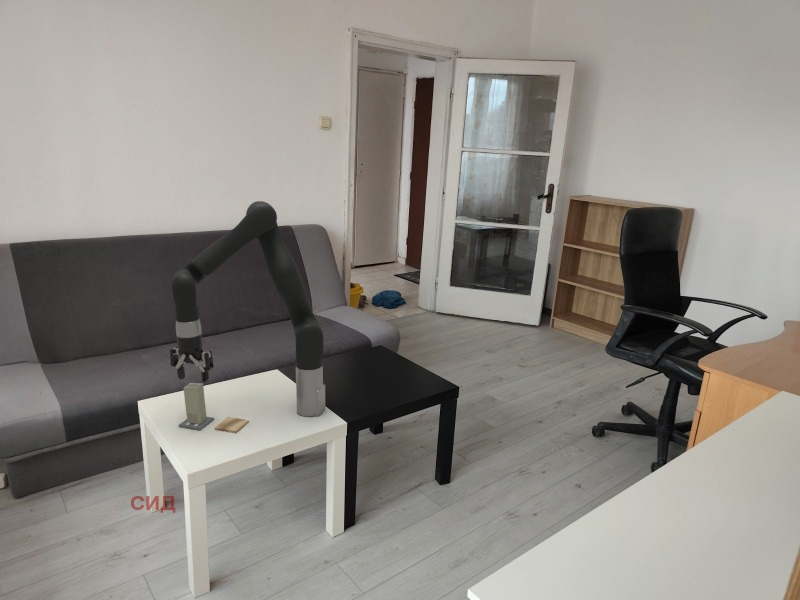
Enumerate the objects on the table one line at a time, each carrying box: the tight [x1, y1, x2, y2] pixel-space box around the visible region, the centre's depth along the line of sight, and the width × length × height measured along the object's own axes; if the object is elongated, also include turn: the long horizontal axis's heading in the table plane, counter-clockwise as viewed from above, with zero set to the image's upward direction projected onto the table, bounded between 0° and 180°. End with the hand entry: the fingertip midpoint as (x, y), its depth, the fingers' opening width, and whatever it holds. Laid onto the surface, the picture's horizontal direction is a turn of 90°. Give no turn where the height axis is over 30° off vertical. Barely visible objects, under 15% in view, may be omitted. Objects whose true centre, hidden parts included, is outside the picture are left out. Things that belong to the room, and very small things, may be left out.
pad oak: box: [213, 416, 250, 434], centre depth 185 cm, size 8×8×1 cm
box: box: [183, 382, 208, 424], centre depth 185 cm, size 5×4×13 cm
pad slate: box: [178, 415, 215, 432], centre depth 186 cm, size 8×8×1 cm
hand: (193, 380), depth 182 cm, fingers open, 8 cm apart
